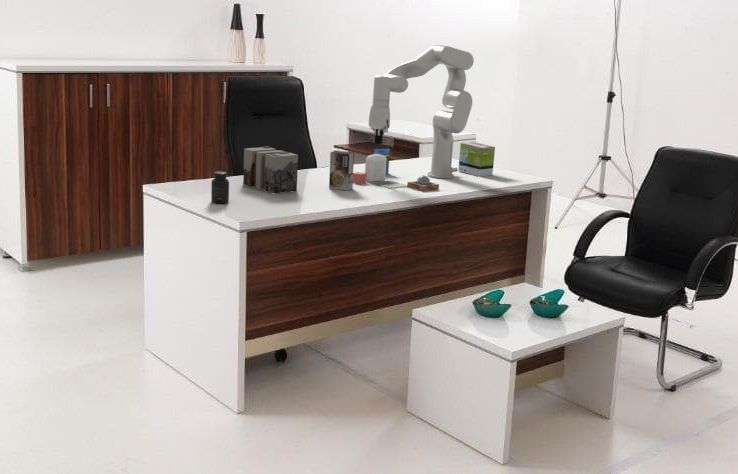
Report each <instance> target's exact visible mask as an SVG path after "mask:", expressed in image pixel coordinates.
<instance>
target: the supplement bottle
mask: <svg viewBox="0 0 738 474" xmlns="http://www.w3.org/2000/svg"><path fill="white" fill-rule="evenodd" d="M227 176H228V175H227V172H226V171H221V170H219V171H214V172H213V179H212V180H211V182H210V183H211V184H210V185H211V186H210V187H211V188H210V189H211V191H210V192H211V194H210V195H211V197H210V198H211V199H210V200H211V203H212V204H214V203H216V204H215V205H225V203H226V204H228V203H229V202H230V201H229V200H230V180H229V179H227Z"/></svg>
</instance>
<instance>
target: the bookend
mask: <svg viewBox="0 0 738 474" xmlns="http://www.w3.org/2000/svg"><path fill="white" fill-rule="evenodd" d="M298 161H299V155H298V154H296V153H292V152H289V151H285V150H282V149H281V150H279V149H278V150H277V149H276V148H273V147H271V146H267V145H265V146H262V147H248V148H247V147H246V148H244V149H243V179H242V180H243V185H245V184H247V185H246V186H249V187H251V188H252V187H253V186H254V187H255V189H257V190H263V191H264V192H266V191H267V192H268V193H271V194H272V193H275V194H281V193H280V192H284V193H291V192H290V191H293V192H297V191H298V190H297V189H298V188H297V187H298V169H299V167H298V166H299V165H298V163H299V162H298ZM254 187H253V188H254Z"/></svg>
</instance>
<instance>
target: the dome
mask: <svg viewBox="0 0 738 474" xmlns="http://www.w3.org/2000/svg"><path fill="white" fill-rule="evenodd" d="M416 180H417V184H421V185H429V184H430V182H431V181H430V180H431V179H430V178H429V176H428V175H420V176H418V178H417V179H416Z"/></svg>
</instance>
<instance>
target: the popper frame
mask: <svg viewBox="0 0 738 474" xmlns="http://www.w3.org/2000/svg"><path fill="white" fill-rule="evenodd" d="M406 183H407V184H406V185H407V187H406V188H409V189H413V190H415V191H419V192H430V191H438V190H439V189H440V184H439V183H435V182H431V181H430V184H429V185H421V184H417V181H416V180H413V181H407V182H406Z"/></svg>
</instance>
